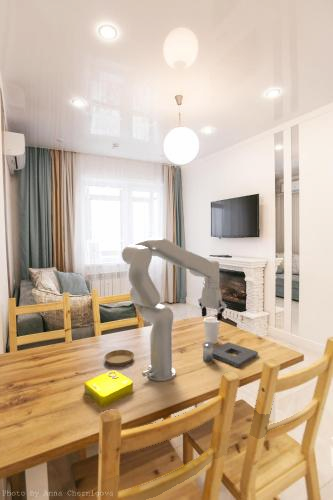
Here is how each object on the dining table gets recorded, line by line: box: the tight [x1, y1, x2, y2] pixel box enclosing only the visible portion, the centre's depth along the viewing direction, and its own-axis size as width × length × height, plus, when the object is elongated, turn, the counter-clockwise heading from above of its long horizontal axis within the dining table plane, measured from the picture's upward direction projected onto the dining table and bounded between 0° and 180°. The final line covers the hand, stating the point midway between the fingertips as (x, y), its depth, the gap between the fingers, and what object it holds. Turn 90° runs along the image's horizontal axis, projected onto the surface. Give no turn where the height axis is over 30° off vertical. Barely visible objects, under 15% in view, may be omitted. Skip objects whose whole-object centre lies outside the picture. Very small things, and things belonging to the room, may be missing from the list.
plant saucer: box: [104, 349, 135, 367], centre depth 133 cm, size 15×15×3 cm
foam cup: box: [203, 316, 221, 345], centre depth 155 cm, size 10×9×13 cm
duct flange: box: [213, 341, 259, 368], centre depth 137 cm, size 18×18×2 cm
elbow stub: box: [202, 342, 215, 363], centre depth 132 cm, size 5×5×8 cm
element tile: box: [84, 369, 134, 408], centre depth 106 cm, size 15×15×5 cm
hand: (211, 318), depth 136 cm, fingers open, 9 cm apart
